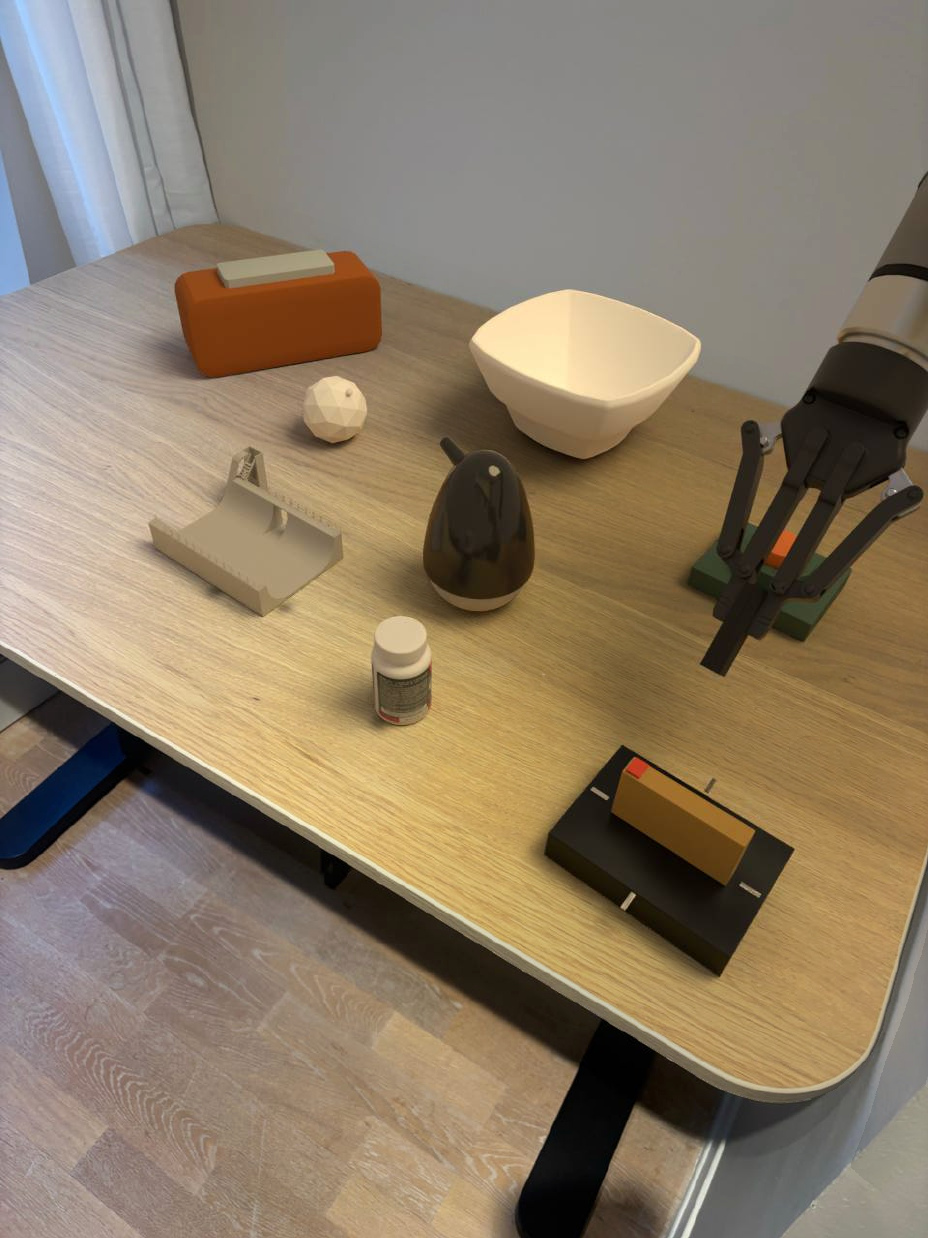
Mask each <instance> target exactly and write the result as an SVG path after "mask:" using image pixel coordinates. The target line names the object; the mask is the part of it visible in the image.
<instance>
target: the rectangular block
mask: <svg viewBox="0 0 928 1238" xmlns="http://www.w3.org/2000/svg"><path fill="white" fill-rule="evenodd" d="M611 812H612V813H613V814H615V815H616V816H618V817H619V818H621V819H622V820H624V821H626V822H627V823H629V824H630V825H632V826H633V827H635V828H636V829H638V830H639V831H641V832H643V833H644V834H646V835H647V836H649V837H650V838H652V839H653V840H655V841H656V842H658V843H660V844H661V845H663V846H664V847H666V848H667V849H669V850H670V851H672V852H673V853H675V854H677V855H678V856H680V857H681V858H683V859H684V860H686V861H687V862H689V863H690V864H692V865H694V866H695V867H697V868H698V869H700V870H701V871H703V872H704V873H706V874H707V875H709V876H711V877H712V878H714V879H715V880H717V881H718V882H720V883H721V884H723V885H727V883H728V881H729V880H730V878H731V877H732V875H733V873H734V872H735V870H736V868H737V866H738V864H739V862H740V861H741V859H742V857H743V855H744V853H745V851H746V849H747V847H748V845H749V843H750V841H751V839H752V837H753V835H754V833H755V830H754V829H752V828H751V827H749V826H747V825H746V824H744V823H742V822H741V821H739V820H737V819H736V818H734V817H732V816H731V815H729V814H728V813H726V812H724V811H723V810H721V809H719V808H718V807H716V806H714V805H713V804H711V803H709V802H708V801H706V800H705V799H703V798H701V797H700V796H698V795H696V794H695V793H693V792H691V791H690V790H688V789H686V788H685V787H683V786H681V785H680V784H678V783H677V782H675V781H673V780H672V779H670V778H668V777H667V776H665V775H663V774H662V773H660V772H658V771H657V770H655V769H653V768H652V767H650V766H649V765H648V764H647V763H645V762H643V761H642V760H640V759H638V758H637V757H636V758H635V757H634V758H633V759H632V760H631V761H630V762H629V764H628V765H627V766H626V767H625V769H624V770H623V771H622V774H621V778H620V781H619V785H618V789H617V792H616V796H615V799H614V803H613V806H612V810H611Z"/></svg>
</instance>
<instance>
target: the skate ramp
mask: <svg viewBox="0 0 928 1238" xmlns="http://www.w3.org/2000/svg"><path fill="white" fill-rule="evenodd" d="M242 460H243V463H244V464H242V467H241V468H240V470H239V467H240V463H241V462H242ZM238 471H239V472H238ZM227 477H228V478H227V483H226V488H225V492H224V495H223V498H222V500H221V501H220V503H218V505H217V506H216V507H214V509H212V510H211V511H209V512H208V513H206V514H204V515H202V516H201V517H199V518H197V519H196V520H194V521H192V522H191V523H189V524H188V525H186V526H184V527H183V528H181V529H179V530H177V529H176V528H174V527H172V526H171V525H169V524H167V523H166V522H164V521H162V520H161V519H159V518H158V517H157V514H156V513H155V514H153V515H152V518H151V519H150V518H148V519H149V521H148V522H147V524H148V528H149V531H150V535H151V539H152V541H153V546H154V548H155V549H156V550H157V551H159V552H161V553H162V554H164V555H165V556H167V557H168V558H170V559H172V560H173V561H174V562H176V563H177V564H180V565H181V566H182V567H184V568H186V569H188V570H189V571H190V572H191V573H193V574H195V575H197V576H198V577H200V578H201V579H203V580H204V581H206V582H208V583H209V584H210V585H212V586H214V587H215V588H217V589H219V590H220V591H222V592H223V593H225V594H226V595H228V596H230V597H232V598H233V599H235V600H236V601H238V602H239V603H241V604H242V605H244V606H246V607H247V608H248V609H250V610H252V611H253V612H254V613H257V614H258V615H259V616H261V617H264V616H266V615H267V614H269V613H270V612H271V611H273V610H274V609H276V608H277V607H279V606H280V605H281V604H283V603H284V602H285V601H287V600H288V599H289V598H290V597H292V596H293V595H295V594H296V593H298V592H299V591H300V590H301V589H303V588H305V587H306V586H307V585H309V584H310V583H311V582H313V581H314V580H315V579H316V578H318V577H320V575H322V574H323V573H325V572H326V571H328V570H329V569H330V568H332V567H333V566H334V565H336V564H337V563H338V562H340V561H341V560H343V559H344V548H343V547H344V546H343V535H342V534H343V533H342V528H341V527H339V528H338V529H336V526H337V524H336V523H334V522H333V521H330V520H329V521H328V519H327V518H325V517H323V516H321V515H320V514H319V513H316V512H314V511H312V510H311V509H309V508H307V507H305V506H303V505H302V504H299V503H298V502H296V501H294V502H293V501H292V499H291V498H289V497H287V496H285V495H283V494H282V493H280V492H278V491H275V492H274V491H271V490H272V488H271V487H269V486H268V480H267V474H266V466H265V459H264V452H262V451H261V450H259V449H257V448H255V447H253V446H251V445H248V446H247V447H245V448H243V449H241V450H239V451H237V452H235V454H234V455H233V456H232V458H231V463H230V467H229V473H228V476H227ZM278 494H279V495H278ZM280 495H281V496H283V498H284V499H281V498H280ZM285 498H286V499H285ZM296 506H297V507H296ZM299 507H300V508H299ZM301 509H302V510H301ZM282 511H284V512H285V513H286V524H285V523H284V521H283V513H282ZM309 512H311V515H310V514H309ZM322 518H323V519H322ZM324 519H325V520H324ZM323 521H324V522H323ZM325 522H326V523H327V524H326V523H325ZM331 523H332V524H334V525H332V524H331Z"/></svg>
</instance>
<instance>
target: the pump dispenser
mask: <svg viewBox="0 0 928 1238" xmlns="http://www.w3.org/2000/svg"><path fill="white" fill-rule="evenodd" d="M439 447H440V448H441V449H442V451H443V452H444V454H445V455H446V457H447V458H448V460H449V461H450V463H451V464H452V465H453V466H452V467H451V469H450V470H449V471H448V473H447V475H446V476H445V478H444V480H443V482H442V484H441V486H440V488H439V490H438V493H437V495H436V497H435V499H434V502H433V505H432V508H431V511H430V514H429V517H428V521H427V525H426V529H425V534H424V540H423V547H422V566H423V569H424V572H425V574H426V575H427V577H428V578H429V580H430V583H431V585H432V586H433V588H434V589H435V591H436V592H437V594H438V595H439V596H440V597H441V598H442V599H443V600H445V601H446V602H447V603H449V604H450V605H452V606H454V607H456V608H459V609H462V610H466V611H471V612H487V611H492V610H496V609H498V608H501V607H503V606H505V605H506V604H508V603H509V602H511V601H512V600H514V599H515V598H516V597H517V595H519V594H520V592H521V591H522V589H523V588H524V586H525V585H526V584H527V582H528V581H529V580H530V579H531V576H532V575H533V573H534V568H535V558H536V554H535V553H536V547H535V531H534V523H533V517H532V512H531V508H530V504H529V500H528V496H527V493H526V490H525V487H524V484H523V482H522V479H521V477H520V475H519V473H518V471H517V470H516V468H515V466H514V464H513V463H512V462H511V461H510V460H509V459H508V458H507V457H506V456H505V455H504V454H502V453H501V452H498V451H496V450H493V449H487V448H481V449H480V448H479V449H475V450H472V451H470V452H467V453H466V452H465V451H464V450H462V448H460V447H459V446H458V444H456V442H455V441H454V440H453V439H451V438H450V437H449V436H444V437H442V438H441V439H440V441H439Z"/></svg>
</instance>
